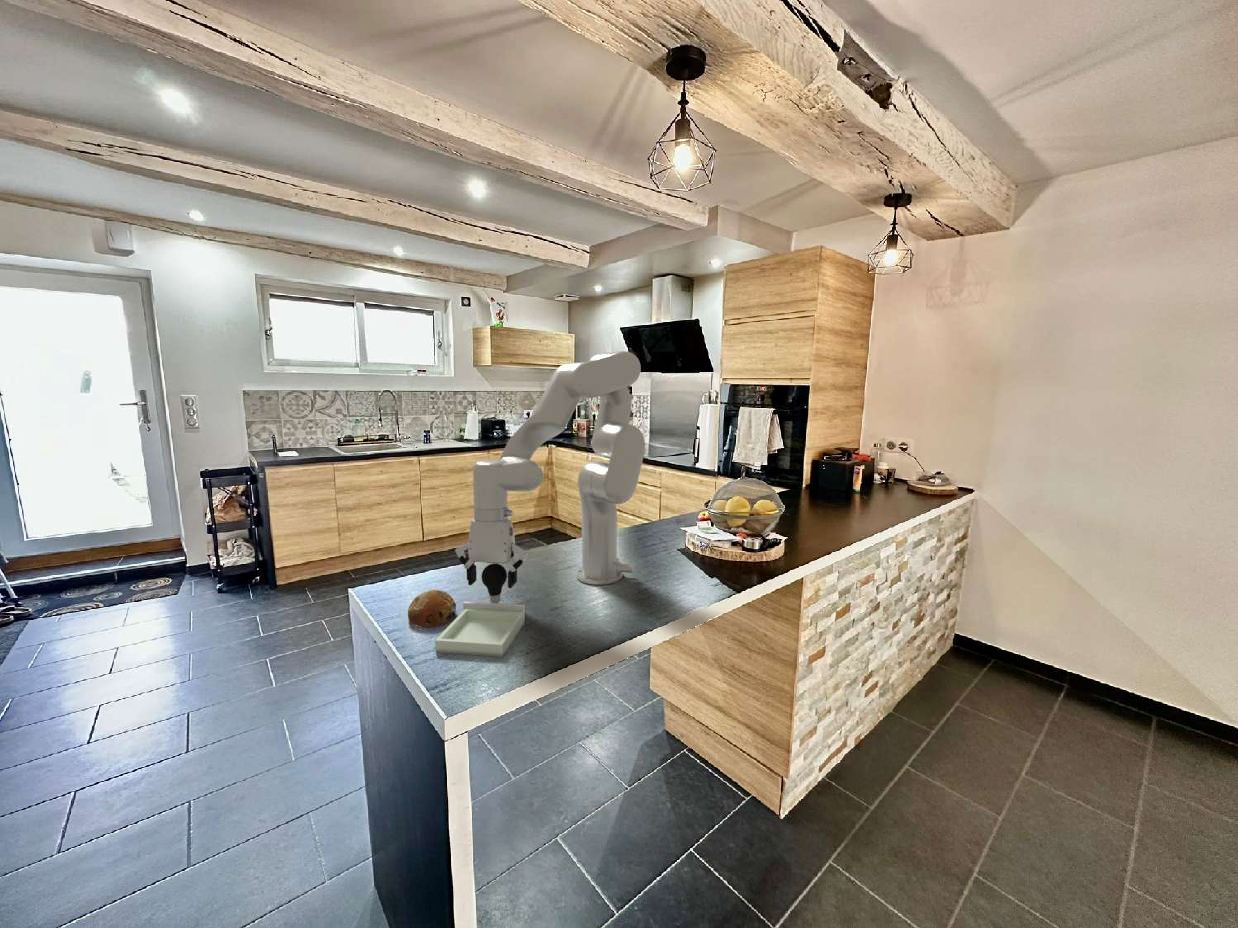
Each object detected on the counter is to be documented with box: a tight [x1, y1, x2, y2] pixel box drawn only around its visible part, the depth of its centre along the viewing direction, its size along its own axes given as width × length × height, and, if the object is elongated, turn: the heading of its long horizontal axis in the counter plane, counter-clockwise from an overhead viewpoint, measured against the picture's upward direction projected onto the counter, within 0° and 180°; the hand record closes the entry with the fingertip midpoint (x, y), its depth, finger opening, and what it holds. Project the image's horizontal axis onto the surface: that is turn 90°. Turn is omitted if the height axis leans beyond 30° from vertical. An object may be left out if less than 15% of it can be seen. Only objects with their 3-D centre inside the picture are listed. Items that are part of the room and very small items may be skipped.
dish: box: [434, 608, 526, 658], centre depth 100 cm, size 14×14×2 cm
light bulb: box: [481, 563, 508, 603], centre depth 115 cm, size 6×6×10 cm
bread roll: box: [407, 589, 457, 628], centre depth 109 cm, size 10×10×8 cm
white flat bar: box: [462, 601, 526, 618], centre depth 109 cm, size 14×1×3 cm, turn 83°
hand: (492, 584), depth 114 cm, fingers open, 9 cm apart
